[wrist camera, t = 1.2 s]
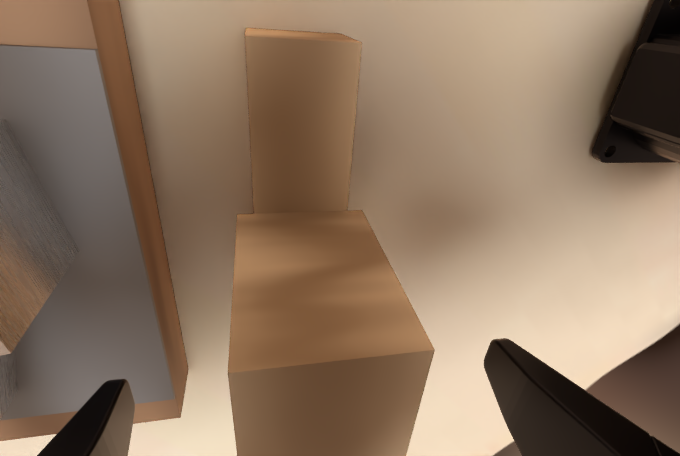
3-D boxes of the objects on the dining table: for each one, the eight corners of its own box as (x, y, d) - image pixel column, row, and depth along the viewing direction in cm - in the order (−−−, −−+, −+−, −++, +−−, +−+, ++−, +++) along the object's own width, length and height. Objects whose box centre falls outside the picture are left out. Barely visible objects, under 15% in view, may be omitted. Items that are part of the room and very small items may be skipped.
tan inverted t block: (354, 34, 13) (505, 90, 5) (330, 338, 20) (380, 549, 12) (229, 26, 12) (193, 79, 4) (250, 346, 19) (251, 577, 11)
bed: (114, -21, 11) (78, -26, 8) (188, 370, 19) (179, 421, 16) (-316, -57, 9) (-509, -74, 7) (-30, 393, 17) (-73, 455, 15)
